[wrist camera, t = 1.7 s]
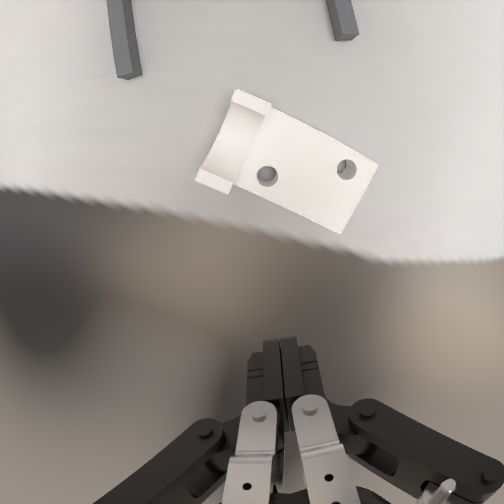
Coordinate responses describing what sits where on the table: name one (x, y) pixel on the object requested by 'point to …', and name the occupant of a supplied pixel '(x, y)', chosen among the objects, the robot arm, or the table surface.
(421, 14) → the table surface
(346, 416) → the robot arm
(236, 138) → the bracket
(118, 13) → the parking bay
